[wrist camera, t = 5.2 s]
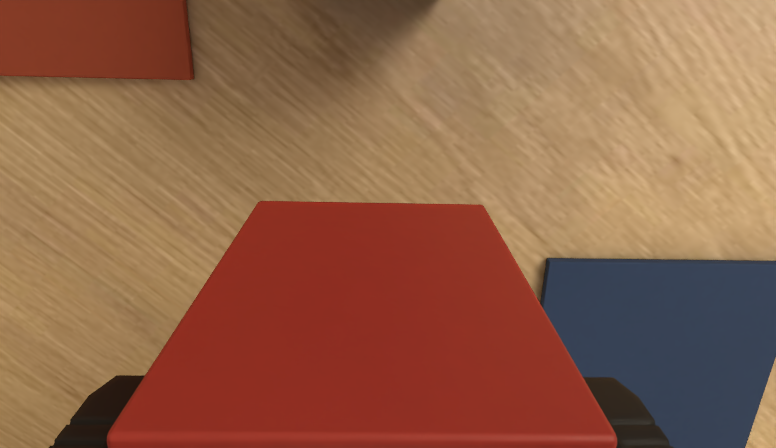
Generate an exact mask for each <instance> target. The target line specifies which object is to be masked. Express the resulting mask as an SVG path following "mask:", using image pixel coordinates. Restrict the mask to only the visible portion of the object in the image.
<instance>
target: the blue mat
mask: <svg viewBox="0 0 776 448" xmlns="http://www.w3.org/2000/svg"><path fill="white" fill-rule="evenodd" d="M540 304H541V306H542V308H543V309H544V311H545V313H546V314H547V316H548V318H549V320H550V321H551V323H552V325H553V327H554V328H555V330H556V332H557V333H558V335H559V337H560V339H561V340H562V342H563V344H564V346H565V347H566V349H567V351H568V352H569V354H570V356H571V358H572V359H573V361H574V363H575V365H576V366H577V368H578V370H579V371H580V373H581V375H582V377H614V378H615V379H616V380H617V381H619V382H620V383H621V384H623V385H624V386H625V387H626V388H628V389H629V390H630V391H631V392H633V393H634V394H635V395H637V396H638V397H639V398H640V400H641V401H642V403H643V404H644V405H645V407H646V408H647V410H648V411H649V413H650V414H651V415H652V417H653V418H654V420H655V424H656V426H659V427H660V428H661V430H662V431H663V433H664V434H665V436H666V437H667V439H668V440H669V445H670V446H673V447H674V448H745V446H746V443H747V440H748V437H749V434H750V431H751V428H752V425H753V422H754V419H755V416H756V414H757V411H758V408H759V405H760V402H761V399H762V396H763V393H764V390H765V387H766V384H767V381H768V378H769V375H770V372H771V369H772V366H773V363H774V360H775V357H776V261H733V260H653V259H574V258H547V262H546V269H545V276H544V282H543V289H542V296H541V303H540Z"/></svg>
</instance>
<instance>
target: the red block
mask: <svg viewBox="0 0 776 448" xmlns="http://www.w3.org/2000/svg"><path fill="white" fill-rule="evenodd" d="M107 445H108V448H616V446H617V437H616V434H615V432H614V430H613V428H612V427H611V425H610V423H609V421H608V420H607V418H606V416H605V415H604V413H603V411H602V409H601V408H600V406H599V404H598V403H597V401H596V399H595V397H594V396H593V394H592V392H591V390H590V389H589V387H588V385H587V384H586V382H585V380H584V378H583V377H582V375H581V373H580V371H579V370H578V368H577V366H576V365H575V363H574V361H573V359H572V358H571V356H570V354H569V352H568V351H567V349H566V347H565V346H564V344H563V342H562V340H561V339H560V337H559V335H558V333H557V332H556V330H555V328H554V327H553V325H552V323H551V321H550V320H549V318H548V316H547V314H546V313H545V311H544V309H543V308H542V306H541V304H540V302H539V301H538V299H537V297H536V296H535V294H534V292H533V290H532V289H531V287H530V285H529V283H528V282H527V280H526V278H525V277H524V275H523V273H522V271H521V270H520V268H519V266H518V264H517V263H516V261H515V259H514V258H513V256H512V254H511V252H510V251H509V249H508V247H507V245H506V244H505V242H504V240H503V239H502V237H501V235H500V233H499V232H498V230H497V228H496V226H495V225H494V223H493V221H492V220H491V218H490V216H489V214H488V213H487V211H486V209H485V208H484V206H483V205H466V204H407V203H348V202H290V201H260V202H258V203H257V205H256V206H255V208H254V210H253V211H252V213H251V214H250V216H249V217H248V219H247V220H246V222H245V223H244V225H243V226H242V228H241V229H240V231H239V233H238V234H237V236H236V237H235V239H234V240H233V242H232V243H231V245H230V246H229V248H228V249H227V251H226V252H225V254H224V256H223V257H222V259H221V260H220V262H219V263H218V265H217V266H216V268H215V269H214V271H213V272H212V274H211V275H210V277H209V279H208V280H207V282H206V283H205V285H204V286H203V288H202V289H201V291H200V292H199V294H198V295H197V297H196V298H195V300H194V302H193V303H192V305H191V306H190V308H189V309H188V311H187V312H186V314H185V315H184V317H183V318H182V320H181V321H180V323H179V324H178V326H177V328H176V329H175V331H174V332H173V334H172V335H171V337H170V338H169V340H168V341H167V343H166V344H165V346H164V347H163V349H162V351H161V352H160V354H159V355H158V357H157V358H156V360H155V361H154V363H153V364H152V366H151V367H150V369H149V370H148V372H147V374H146V375H145V377H144V378H143V380H142V381H141V383H140V384H139V386H138V387H137V389H136V390H135V392H134V393H133V395H132V397H131V398H130V400H129V401H128V403H127V404H126V406H125V407H124V409H123V410H122V412H121V413H120V415H119V416H118V418H117V420H116V421H115V423H114V424H113V426H112V427H111V429H110V430H109V432H108V435H107Z"/></svg>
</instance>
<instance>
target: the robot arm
mask: <svg viewBox="0 0 776 448" xmlns="http://www.w3.org/2000/svg"><path fill="white" fill-rule="evenodd" d="M144 377H145V376H115V377H114V378H113V379H111V380H110V381H109V382H107V383H106V384H104V385H103V386H102V387H100V388H99V389H97V390H96V391H95V392H93V393H92V394H91V395H89V396H88V398H87V399H86V400H85V402H84V403H83V404H82V405H81V407H80V408H79V409H78V411H77V412H76V413H75V415H74V416H73V417H72V418H71V420H70V421H71V422H70V424H69V425H66V426H65V428H64V429H63V430H62V431H61V433H60V434H59V435H58V437H57V438H56V439H55V443H54V445H53V446H50V447H49V448H108V445H107V435H108V432H109V430H110V429H111V427H112V426H113V424H114V423H115V421H116V420H117V418H118V416H119V415H120V413H121V412H122V410H123V409H124V407H125V406H126V404H127V403H128V401H129V400H130V398H131V397H132V395H133V393H134V392H135V390H136V389H137V387H138V386H139V384H140V383H141V381H142V380H143V378H144ZM583 378H584V380H585V382H586V384H587V385H588V387H589V389H590V390H591V392H592V394H593V396H594V397H595V399H596V401H597V403H598V404H599V406H600V408H601V409H602V411H603V413H604V415H605V416H606V418H607V420H608V421H609V423H610V425H611V427H612V428H613V430H614V432H615V434H616V437H617V446H616V448H674V447H673V446H670V445H669V440H668V439H667V437H666V436H665V434H664V433H663V431H662V430H661V428H660V427H659V426H656V424H655V420H654V418H653V417H652V415H651V414H650V413H649V411H648V410H647V408H646V407H645V405H644V404H643V403H642V401H641V400H640V398H639V397H638V396H637V395H635V394H634V393H633V392H631V391H630V390H629V389H628V388H626V387H625V386H624V385H623V384H621V383H620V382H619V381H617V380H616V379H615V378H614V377H583Z"/></svg>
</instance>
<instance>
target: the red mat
mask: <svg viewBox="0 0 776 448" xmlns="http://www.w3.org/2000/svg"><path fill="white" fill-rule="evenodd" d="M0 76H39V77H83V78H127V79H172V80H191V79H194V73H193V64H192V54H191V44H190V35H189V25H188V15H187V6H186V0H0Z"/></svg>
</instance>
